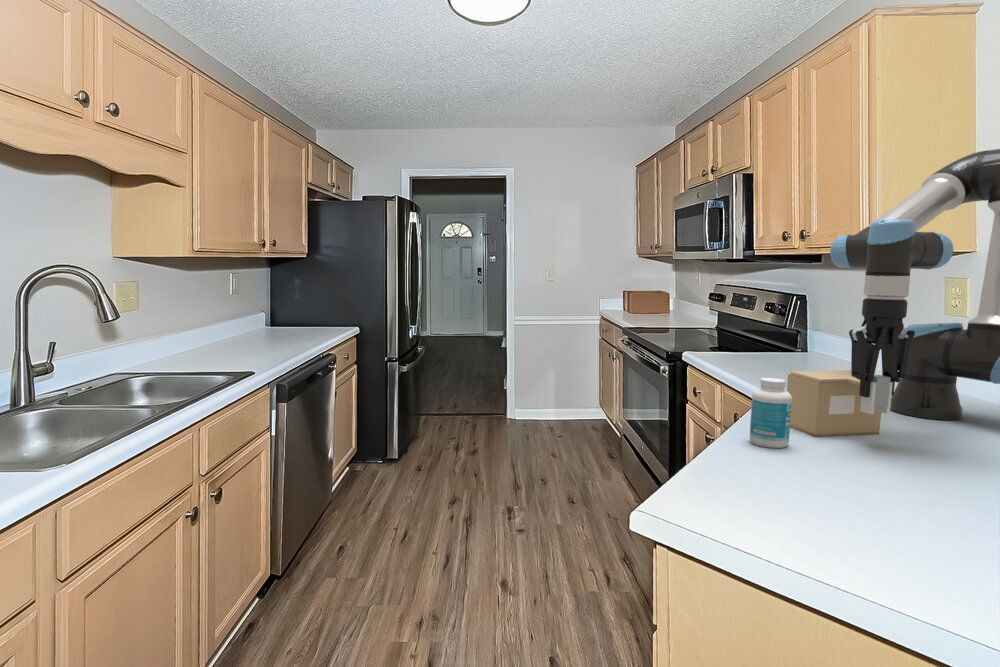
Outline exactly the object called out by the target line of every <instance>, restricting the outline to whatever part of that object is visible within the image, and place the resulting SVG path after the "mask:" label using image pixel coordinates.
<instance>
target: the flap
mask: <svg viewBox="0 0 1000 667" xmlns="http://www.w3.org/2000/svg"><path fill="white" fill-rule="evenodd" d="M790 374H792V375H796V376H799V377H803V378H806V379H810V380H814V381H817V382H851V383H855V384H859V385H860V380H859V379H857V378H855V377H852V375H851V370H805V371H803V370H798V371H796V370H795V371H793V370H791V371H790ZM866 375H867V374H866ZM872 382H876V394H875V405H874V407H888V400H889V389H890V377H886V376H882V374H874V378H873V381H872Z"/></svg>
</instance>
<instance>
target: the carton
mask: <svg viewBox="0 0 1000 667" xmlns="http://www.w3.org/2000/svg"><path fill="white" fill-rule="evenodd" d="M786 391H787V392H788V393H790V395H791V396H792V406H791V420H790V428H791V429H794V430H796V431H799V432H801V433H804V434H806V435H808V436H811V437H813V438H827V437H831V438H833V437H849V436H850V437H853V436H855V437H856V436H876V435H877V436H879V435H880V431H881V419H882V412H880V411H876V407H874V414H868V413H865V412H862V411H860V406H861V396H860V394H859V391H860V385H859V384H855V383H851V382H817V381H814V380H810V379H806V378H803V377H799V376H796V375H792V374H791V373H787V385H786Z"/></svg>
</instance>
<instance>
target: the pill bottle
mask: <svg viewBox="0 0 1000 667" xmlns="http://www.w3.org/2000/svg"><path fill="white" fill-rule="evenodd" d="M786 381H787V380H785V379H781V378H775V377H761V378H760V381H759V382H760V383H759V384H760V386H761V387H760V388H756V389H755V390H753V392H752V394H751V406H750V407H751V408H750V410H751V411H750V424H749V425H750V426H749V440H750V442H751V443H752V444H754V445H757V446H760V447H762V448H763V447H764V448H770V449H771V448H772V449H782V448H786V447H788V445H789V443H790V432H791V430H790V428H791V427H790V420H791V406H792V396H791V395H790V393H788V392H787V390H785V387H786V386H787V385H786Z"/></svg>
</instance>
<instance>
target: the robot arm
mask: <svg viewBox="0 0 1000 667" xmlns="http://www.w3.org/2000/svg"><path fill="white" fill-rule="evenodd" d="M983 201H987V207H988V208H989V209H990V210H992V211H993V213H994V214H993V221H992V228H991V232H990V233H991V234H990V240H989V245H988V251H987V257H986V262H985V270H984V275H983V281H982V287H981V293H980V300H979V306H978V312H977V315H976V316H975V317H973V318H972V319H970V320H969V321H968V322H967V329H966V328H965V329H964V326H963V323H961V322H945V323H944V322H943V323H940V322H939V323H914V324H909V325H908V326H906V327H905V325H904V321H903V319H905V318H906V317H907V314H908V313H907V311H908V301H907V299H906V298H907V297H909V292H910V282H911V280H910V279H911V277H910V276H911V270H912V269H913V270H914V269H915V270H932V269H938V268H941V267H943V266H945V265H947V263H949V262H950V260H951V259H952V257H953V254H954V244H953V242H952V240H951V239H950V237H948V236H947V235H945V234H943V233H939V232H935V231H930V232H929V231H919V230H921V229H922V228H924V227H925V226H926V225H927V224H929V223H930V222H932V221H933V220H934V219H935V218H937V217H939V215H941V214H943V213H944V212H946V211H950V210H953V209H956V208H957V207H959V206H960V205H963V204H966V203H967V204H968V203H973V202H983ZM829 254H830V255H829V256H830V257H831V262H832V263H833V265H834V266H836V267H838V268H844V269H851V270H854V269H865V275H864V285H863V286H864V288H863V295H864V296H866V298H863V299H862V305H861V306H862V308H861V316H862V317H863V322H862V324H861V327H859V328H856V329H850V330H849V332H848V334H849V337H850V341H851V353H850V354H851V355H850V356H851V362H850V363H851V365H850V366H851V368H850V369H851V375H852V377H855V378H857V379H859V380H860V391H859V394H860V396H861V406H860V411H862V412H865V413H868V414H874V405H875V394H876V382H872V381H873V378H874V375H876V374H875V373H876V369H877V364H878V360H879V356H880V355H879V354H880V353H881V371H882V372H881V373H882V374H881V375H882V376H886V377H890V389H889V400H888V407H876V411H880V412H881V413H883V414H891V411H892V412H895V413H898V414H902V415H905V416H910V417H916V418H923V419H930V420H941V421H945V420H946V421H947V420H948V421H949V420H950V421H952V420H953V421H954V420H961V418H963V406H962V405H961V402H960V398H959V397H960V396H959V393H958V388H957V380H958V379H957V378H963V379H967V380H968V379H969V380H975V381H979V382H980V381H981V382H988V383H992V384H995V385H996V384H997V385H1000V148H995V149H990V150H989V149H988V150H982V151H977V152H974V153H971V154H968V155H966V156H962V157H961V158H958V159H956V160H954V161H953V162H951V163H949V164H946V165H945V166H944V167H942V168H940V169H939V170H937V171H936V172H934V173H933V174H931V175H929V176H928V177H927V178H926V179H925V180H924V181H923V182H922V183H921V186H920V188H918V189H917V190H916V191H914V192H913V193H912V194H911V195H909V196H908V197H906V198H905V199H903V200H902V201H901V202H899V203H898V204H897V205H895V206H894V207H892V208H891V209H890V210H888V211H886V212H885V213H884V214H882V215H881V216H880V217H878V218H877V219H876V220H874V221H872V223H870V224H868V226H866V227H865V228H864V229H862V230H860V231H859V232H857V233H855V234H847V235H840V236H838V237H836V238H835V239H834V240H833V242H832V243H831V245H830V251H829ZM880 351H881V352H880ZM866 374H867V375H866ZM896 383H897V385H896V386H895V384H896Z"/></svg>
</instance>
